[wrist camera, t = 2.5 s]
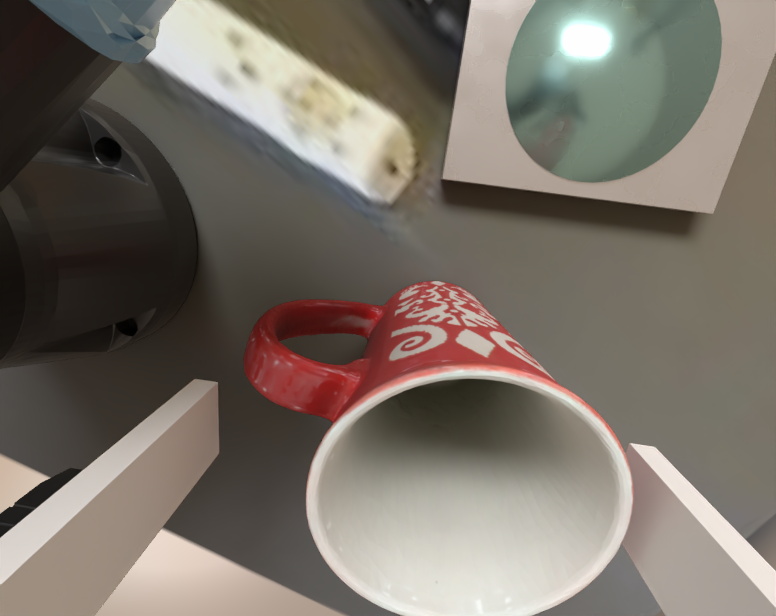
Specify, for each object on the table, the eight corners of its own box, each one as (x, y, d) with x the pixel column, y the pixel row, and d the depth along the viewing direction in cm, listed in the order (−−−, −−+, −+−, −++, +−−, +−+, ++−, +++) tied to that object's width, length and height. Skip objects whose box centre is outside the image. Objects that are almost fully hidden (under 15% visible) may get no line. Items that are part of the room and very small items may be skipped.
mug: (537, 314, 22) (718, 483, 9) (453, 420, 24) (499, 670, 12) (358, 202, 21) (269, 212, 8) (289, 327, 23) (137, 491, 10)
